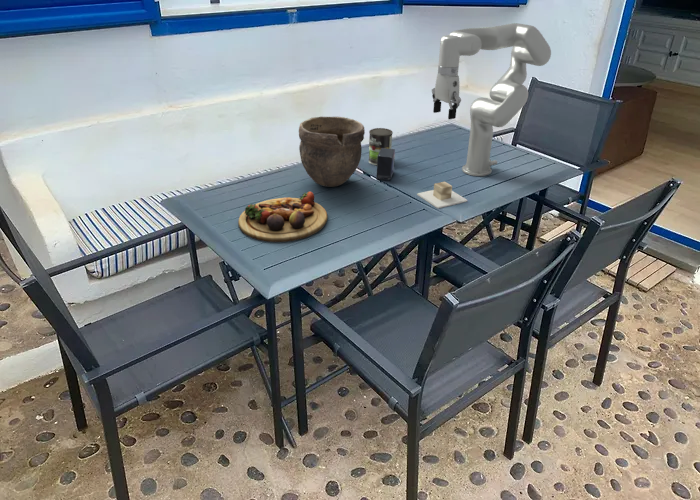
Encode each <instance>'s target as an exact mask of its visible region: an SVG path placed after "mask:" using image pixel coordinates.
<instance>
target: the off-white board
mask: <svg viewBox="0 0 700 500" xmlns="http://www.w3.org/2000/svg"><path fill="white" fill-rule="evenodd" d="M433 192H434V189H432V190H427V191H426V190H425V191H422V192H418V193H416V195H417V196H418V197H419V198H421V199H423V200H424V201H426V202H427V203H428V204H430V205H431V206H433V207H435V208H436V209H442V208H446V207H451V206H455V205H459V204H463V203H466V202H468V199H466V198H465V197H464V196H461V195H460V194H458V193H457V192H455V191H453V190H452V194H451V198H448V199H444V200H439V199H438V198H436V197H435V196H433Z"/></svg>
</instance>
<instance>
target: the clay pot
mask: <svg viewBox="0 0 700 500" xmlns="http://www.w3.org/2000/svg"><path fill="white" fill-rule="evenodd" d="M365 131H366V130H365V126H364V124H363V123H362V122H360V121H359V120H355V119H353V118H348V117H345V116H317V117H316V116H315V117H311V118H308V119H305V120H303V121H302V122H300V123H299V127H298V136H299V141H300V142H299V147H298V150H299V155H300V156H299V157H300V161H301V164H302V166H303V168H304V170H305V172H306V173H307V175H308V176H309V177H310V179H311V180H312V181H313V182H314V183H316V184H318V185H320V186H322V187H329V188H331V187H332V188H334V187H339V186H341V185H343V184H344V183H346V182H347V181H348V180H349V179H350V178H351V176H352V175H353V174H354V173H355V172H356V170H357V168H358V166H359V165H360V162H361V159H362V148H363V147H362V142H363V141H364V139H365V133H366V132H365Z"/></svg>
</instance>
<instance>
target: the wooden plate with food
mask: <svg viewBox="0 0 700 500" xmlns="http://www.w3.org/2000/svg"><path fill="white" fill-rule="evenodd" d="M301 195H302V196H301ZM301 195H300V196H299V197H298V198H297V197H289V196H288V197H279V198H272V199H267V200H263V201H261V202H257V203H253V204H252V203H250V204H248V205H247V206H246V207H245V208H244V211H242V212H241V214H240V215H239V218H238V222H237V224H238V227H239V230H240V231H241V233H243V234H244V235H246V236H247V237H250V238H252V239H254V240H257V241H261V242H268V243H286V242H293V241H298V240H302V239H305V238H308V237H310V236H312V235H314V234H316V233H318V232H319V231H321V230H322V229H323V228H324V226H325V225H326V224H327V221H328V212H327V210H326V209H325V208H324V207H323V206H322V205H321V204H319V203H318V202H315V194H314V193H313V192H312V191H307V192H303V194H301Z"/></svg>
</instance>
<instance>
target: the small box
mask: <svg viewBox="0 0 700 500" xmlns="http://www.w3.org/2000/svg"><path fill="white" fill-rule="evenodd" d="M395 159H396V149H395V148H391V149H388V148H381V150H380V152H379V154H378V156H377V165H376V175H375V176H376V178H375V179H376V180H383V181H384V180H385V181H391V179H392V176H393V174H394V171H395Z"/></svg>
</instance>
